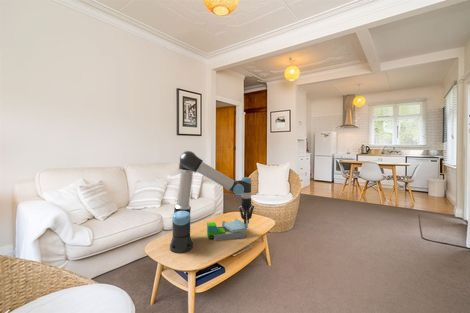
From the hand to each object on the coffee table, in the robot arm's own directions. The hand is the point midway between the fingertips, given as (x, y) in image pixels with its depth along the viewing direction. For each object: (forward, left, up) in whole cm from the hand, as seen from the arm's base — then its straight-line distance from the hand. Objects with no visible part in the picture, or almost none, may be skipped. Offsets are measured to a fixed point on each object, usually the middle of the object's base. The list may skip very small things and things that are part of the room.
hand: (246, 227), depth 176 cm
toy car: (-23, +1, -6) cm, 24 cm away
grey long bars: (-14, +3, -6) cm, 15 cm away
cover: (-9, +5, -5) cm, 11 cm away
